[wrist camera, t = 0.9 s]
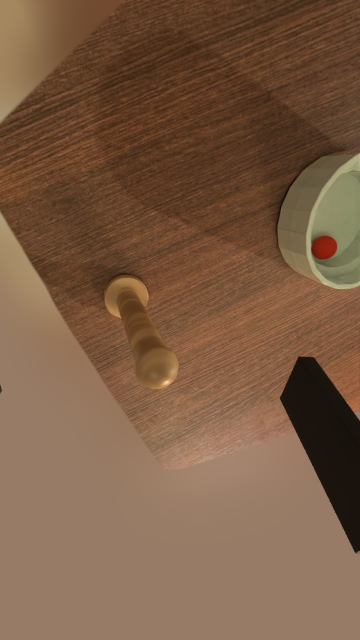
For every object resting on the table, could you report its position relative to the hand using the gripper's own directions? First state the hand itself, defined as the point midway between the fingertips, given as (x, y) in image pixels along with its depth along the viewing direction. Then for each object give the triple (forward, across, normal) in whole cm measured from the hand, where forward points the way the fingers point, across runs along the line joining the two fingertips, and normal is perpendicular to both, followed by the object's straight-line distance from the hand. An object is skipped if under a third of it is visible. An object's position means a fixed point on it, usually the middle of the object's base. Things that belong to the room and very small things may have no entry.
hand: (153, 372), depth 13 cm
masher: (+22, -2, -8) cm, 23 cm away
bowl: (+28, +23, +2) cm, 37 cm away
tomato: (+26, +22, -1) cm, 34 cm away
